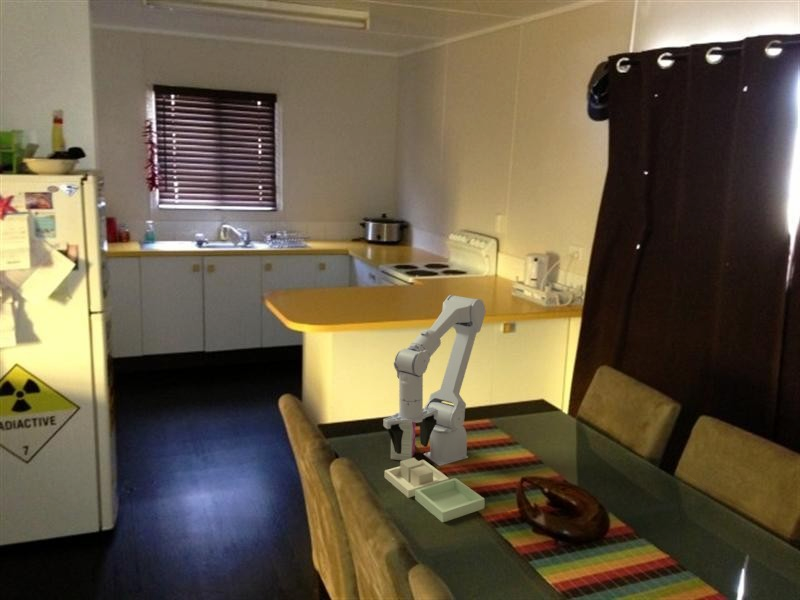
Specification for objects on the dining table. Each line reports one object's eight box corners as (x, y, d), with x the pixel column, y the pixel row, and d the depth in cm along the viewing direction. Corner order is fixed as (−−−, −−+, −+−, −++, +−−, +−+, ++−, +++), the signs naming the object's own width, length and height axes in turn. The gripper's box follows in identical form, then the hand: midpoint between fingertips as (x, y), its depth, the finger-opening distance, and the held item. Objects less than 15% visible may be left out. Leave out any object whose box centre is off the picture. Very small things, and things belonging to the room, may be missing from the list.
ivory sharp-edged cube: (424, 480, 171) (424, 465, 170) (433, 487, 168) (433, 472, 167) (410, 484, 169) (410, 469, 168) (419, 491, 166) (419, 476, 165)
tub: (455, 488, 168) (455, 477, 167) (484, 510, 158) (484, 498, 157) (415, 501, 162) (415, 490, 162) (442, 524, 152) (442, 512, 152)
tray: (423, 468, 178) (423, 459, 178) (448, 487, 169) (448, 478, 168) (384, 479, 173) (384, 470, 172) (408, 500, 163) (408, 490, 162)
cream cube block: (413, 471, 175) (413, 457, 174) (422, 478, 172) (422, 463, 171) (400, 475, 173) (400, 461, 172) (408, 482, 170) (408, 467, 169)
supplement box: (411, 463, 181) (411, 422, 179) (390, 461, 182) (389, 421, 180) (415, 453, 187) (415, 414, 184) (394, 451, 188) (394, 412, 185)
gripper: (393, 408, 161) (393, 462, 164) (444, 396, 168) (444, 448, 171) (378, 399, 166) (379, 450, 170) (429, 388, 174) (428, 437, 177)
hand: (411, 448), depth 171 cm, fingers open, 7 cm apart
